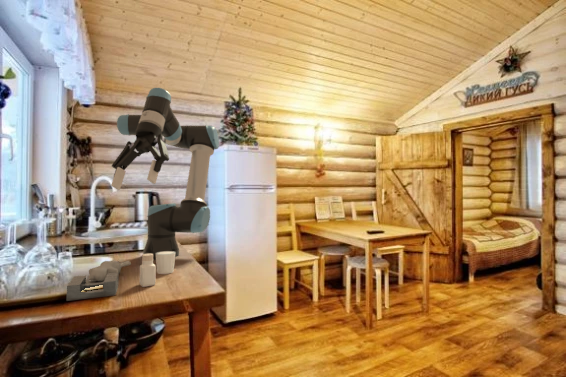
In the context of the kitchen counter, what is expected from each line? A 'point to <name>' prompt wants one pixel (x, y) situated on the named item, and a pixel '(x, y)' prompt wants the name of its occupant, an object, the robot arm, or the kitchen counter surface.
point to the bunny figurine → (106, 270)
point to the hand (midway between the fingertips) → (132, 184)
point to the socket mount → (80, 284)
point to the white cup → (165, 262)
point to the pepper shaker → (147, 271)
